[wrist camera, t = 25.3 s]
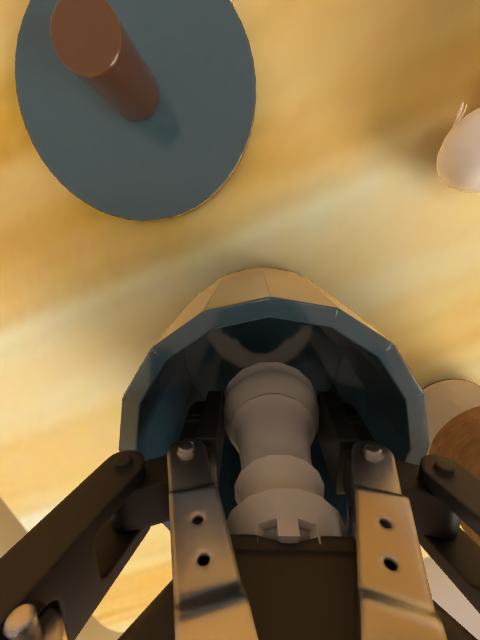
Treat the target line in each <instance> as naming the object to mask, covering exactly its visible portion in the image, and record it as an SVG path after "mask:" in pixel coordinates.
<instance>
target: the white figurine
mask: <svg viewBox="0 0 480 640" xmlns="http://www.w3.org/2000/svg"><path fill="white" fill-rule="evenodd" d="M464 100H465V99H464ZM463 103H464V101H463V102H462V104H461V107H460V109H459V112H458V114H457V117H456V118H455V119H456V120H455V122H454V125H453V127H452V129H451V131H450V132H449V133H448V134H447V136H446V137H445V139H444V141H443V143H442V146H441V148H440V151H439V153H438V156H437V173H438V175H439V177H440V178H441V180H442V181H443V182H444V183H445V184H446V185H447V186H448V187H450V188H453V189H456V190H459V191H462V192H467V193H476V192H480V108H478V109H476V110H475V111H473V112H471V113H470V112H469V113H470V114H468V115H467V116H465V117H464V118H463V116H464V113H465V111H466V107H467V105H468V104H467V105H466V107H465V109H464V111H463V113H462V115H461V112H462V109H463V106H464V104H463ZM472 110H473V109H472ZM472 110H471V111H472ZM460 116H461V117H460ZM462 118H463V119H462Z"/></svg>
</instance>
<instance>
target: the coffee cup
mask: <svg viewBox="0 0 480 640" xmlns="http://www.w3.org/2000/svg"><path fill="white" fill-rule="evenodd" d="M423 392H424V394H425V399H426V411H427V424H428V436H429V448H428V452H427V455H440V456H444V457H447V458H450V459H452V460H454V461H456V462H457V463H459V464H460V465H462V466H463V467H464V468H466V469H467V470H468V471H470V472H471V473H472V474H474V475H475V476H476V477H478V478H479V479H480V386H478V385H476V384H474V383H471V382H468V381H464V380H445V381H440V382H437V383H435V384H432V385H430V386H428V387H427V388H425V389H423ZM460 525H461V526H462V528H463V530H464V531H465V533H466V534H467V535H468V536H469V537H470V538H471V539H472V540H473V541H474V542H475V543H476V544H477V545H479V546H480V537H479V536H478V535H477V534H476V533H475V532H474V531H473V530H472V529H471V528H470V527H468V526H467V525H466V524H465V523H464V522H463V521H462V520H461V521H460Z"/></svg>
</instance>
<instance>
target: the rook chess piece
mask: <svg viewBox="0 0 480 640" xmlns="http://www.w3.org/2000/svg"><path fill="white" fill-rule="evenodd" d="M224 398H225V403H224V405H223V420H224V429H225V431H226V433H227V435H228V437H229V439H230V441H231V443H232V444H233V445H234V446H235V448H236V449H237V451H238V453H239V456H240V463H241V469H242V471H241V472H240V474H239V476H238V478H237V481H236V483H235V485H234V487H235V500H236V502H237V504H238V505H237V506H236V507H235V508H234V509H232V511H231V513H230V515H229V517H228V519H227V521H226V522H227V526H228V530H229V534H251V535H258V536H262V537H265V538H269V539H273V540H276V541H280V543H288V544H291V543H298V542H300V541H304V540H308V539H312V538H316V537H318V540H319V544H321V539H320V537H321V536H344V537H346V527H345V525H344V523H343V521H342V518H341V516H340V514H339V512H338V510H337V509H335V508H334V507H333V506H332V505H331V504H329V503H328V502H327V501H326V500H325V499H324V483H323V481H322V479H321V477H320V474H319V472H318V471H317V470H316V469H315V468H314V467H313V466H312V462H311V449H310V446H311V444H312V442H313V440H314V437H315V435H316V433H317V431H318V428H319V411H320V407H319V405H318V402H317V395H316V393H315V391H314V388H313V386H312V384H311V381H310V380H309V379H308V378H306V377H305V376H304V375H303V374H302V373H301V372H300V371H299V370H298V369H296V368H293V367H291V366H288V365H285V364H283V363H280V362H260V363H257V364H255V365H252V366H250V367H247V368H245V369H242V370H241V371H240V372H239V373H238V374H237V375H236V376H235V377H234V378H233V379H232V380H231V381H230V382H229V383H228V386H227V388H226V390H225V393H224Z"/></svg>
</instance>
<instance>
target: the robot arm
mask: <svg viewBox="0 0 480 640" xmlns="http://www.w3.org/2000/svg"><path fill="white" fill-rule="evenodd" d="M317 402H318V405H319V407H320V411H319V428H318V431H317V433H316V434H317V438H318V441H319V444H320V447H321V450H322V453H323V456H324V459H325V462H326V466H327V469H328V472H329V475H330V478H331V481H332V484H333V487H334V490H335V493H336V494H345V495H346V498H347V504H346V537H344V536H321V537H320V539H321V544H319V540H318V537H316V538H312V539H308V540H304V541H300V542H298V543H291V544H288V543H280V541H276V540H273V539H269V538H265V537H262V536H258V535H251V534H229V530H228V526H227V522H226V518H225V514H224V510H223V506H222V502H221V497H220V493H219V489H218V484H219V476H220V468H221V460H222V452H223V444H224V436H225V429H224V420H223V405H224V403H225V398H224V391H210V390H209V391H208V393H207V397H206V400H205V401H196V402H195V403H194V404H193V405H192V406H191V407H190V408H189V411H188V414H187V417H186V420H185V423H184V426H183V429H182V432H181V434H180V437H179V440H178V441H176V442H175V443H173V444H172V445H171V446H170V447H169V449H168V451H167V454H166V455H164V456H161V457H158V458H154V459H149V460H145V461H144V456H143V455H142V454H141V453H140V452H138V451H134V450H126V451H121V452H118V453H116V454H114V455H112V456H110V457H109V458H108V459H107V460H106V461H105V462H103V463H102V464H101V465H100V466H99V467H98V468H97V469H96V470H95V471H94V472H93V473H92V474H91V475H89V476H88V477H87V478H86V479H85V480H84V481H83V482H82V483H81V484H80V485H79V486H78V487H77V488H76V489H74V490H73V491H72V492H71V493H70V494H69V495H68V496H67V497H66V498H65V499H64V500H63V501H62V502H60V503H59V504H58V505H57V506H56V507H55V508H54V509H53V510H52V511H51V512H50V513H49V514H48V515H46V516H45V517H44V518H43V519H42V520H41V521H40V522H39V523H38V524H37V525H36V526H35V527H34V528H33V529H31V530H30V531H29V532H28V533H27V534H26V535H25V536H24V537H23V538H22V539H21V540H20V541H19V542H17V543H16V544H15V545H14V546H13V547H12V548H11V549H10V550H9V551H8V552H7V553H6V554H5V555H4V556H3V557H1V558H0V640H75V639H76V637H77V636H78V634H79V633H80V631H81V629H82V628H83V627H84V625H85V624H86V622H87V621H88V619H89V618H90V617H91V615H92V614H93V612H94V611H95V609H96V608H97V606H98V605H99V603H100V602H101V600H102V599H103V597H104V596H105V594H106V593H107V592H108V590H109V589H110V587H111V586H112V584H113V583H114V581H115V580H116V578H117V577H118V575H119V574H120V572H121V571H122V569H123V568H124V566H125V565H126V564H127V562H128V561H129V559H130V558H131V556H132V555H133V553H134V552H135V550H136V549H137V547H138V546H139V544H140V543H141V541H142V540H143V538H144V537H145V536H146V534H147V533H148V531H149V529H150V527H151V526H153V525H156V524H160V523H163V522H167V521H170V534H171V554H172V574H173V579H172V580H171V582H170V583H169V584H168V585H167V586H166V587H165V588H164V589H163V590H162V591H161V593H160V594H159V595H158V596H157V597H156V598H155V599H154V600H153V601H152V602H151V604H150V605H149V606H148V607H147V608H146V609H145V610H144V611H143V612H142V613H141V615H140V616H139V617H138V618H137V619H136V620H135V621H134V622H133V623H132V624H131V625H130V627H129V628H128V629H127V630H126V631H125V632H124V633H123V634H122V635H121V636H120V638H119V639H118V640H477V639H476V638H475V637H474V636H473V635H472V634H470V633H469V632H468V631H467V630H466V629H465V628H464V627H463V626H461V624H459V623H458V622H457V621H456V620H455V619H454V618H452V617H451V616H450V615H449V614H448V613H447V612H446V611H445V610H444V609H443V608H441V607H440V606H439V605H438V604H437V603H436V602H435V601H434V600H432V596H431V592H430V588H429V583H428V579H427V574H426V571H425V566H424V562H423V557H422V553H421V548H420V545H421V546H422V547H423V549H424V550H425V551H426V552H427V553H428V554H429V555H430V557H431V558H432V559H433V560H434V561H435V562H436V563H437V565H438V566H439V567H440V568H441V569H442V570H443V572H444V573H445V574H446V575H447V576H448V577H449V579H450V580H451V581H452V582H453V583H454V584H455V585H456V587H457V588H458V589H459V590H460V591H461V592H462V593H463V594H464V596H465V597H466V598H467V599H468V600H469V602H470V603H471V604H472V605H473V606H474V607H475V609H476V610H477V611H478V612H479V613H480V546H479V545H477V544H476V543H475V542H474V541H473V540H472V539H471V538H470V537H469V536H468V535H467V534H466V533H465V532H464V531H463V530H462V529H461V528H460V527H459V526H460V521H461V520H462V521H463V522H464V523H465V524H466V525H467V526H468V527H470V528H471V529H472V530H473V531H474V532H475V533H476V534H477V535H478V536H479V537H480V479H479V478H478V477H476V476H475V475H474V474H472V473H471V472H470V471H468V470H467V469H466V468H464V467H463V466H462V465H460V464H459V463H457V462H456V461H454V460H452V459H450V458H447V457H444V456H440V455H426V456H424V457H422V458H421V461H420V465H417V464H412V463H408V462H404V461H400V460H397V459H395V458H394V455H393V453H392V452H391V451H390V450H389V449H388V448H387V447H386V446H384V445H382V444H380V443H378V442H376V441H375V440H374V438H373V436H372V435H371V433H370V431H369V430H368V428H367V426H366V425H365V424H364V421H363V420H362V418H361V417H360V415H359V413H358V411H357V409H356V408H354V407H353V406H352V405H350V404H349V403H348V402H341V401H340V400H339V398H338V396H337V394H336V392H335V391H318V394H317Z"/></svg>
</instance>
